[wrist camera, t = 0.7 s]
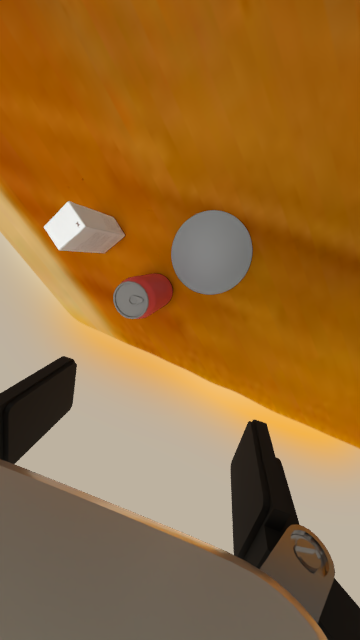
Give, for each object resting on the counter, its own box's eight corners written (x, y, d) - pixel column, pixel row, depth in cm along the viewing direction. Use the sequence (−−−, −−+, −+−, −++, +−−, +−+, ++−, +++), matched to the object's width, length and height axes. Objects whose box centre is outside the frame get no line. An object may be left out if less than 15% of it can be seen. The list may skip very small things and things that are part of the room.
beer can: (174, 306, 43) (153, 322, 32) (143, 306, 44) (112, 322, 33) (172, 272, 41) (149, 276, 30) (140, 274, 43) (106, 278, 32)
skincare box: (113, 216, 41) (68, 199, 30) (126, 236, 42) (86, 226, 30) (91, 235, 43) (41, 226, 32) (104, 254, 44) (58, 251, 32)
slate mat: (256, 210, 35) (257, 209, 35) (247, 296, 39) (247, 297, 38) (173, 212, 38) (172, 211, 38) (172, 291, 42) (170, 291, 41)
